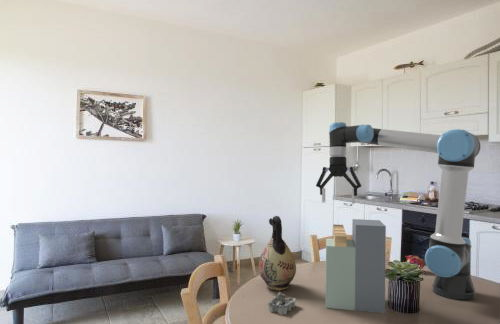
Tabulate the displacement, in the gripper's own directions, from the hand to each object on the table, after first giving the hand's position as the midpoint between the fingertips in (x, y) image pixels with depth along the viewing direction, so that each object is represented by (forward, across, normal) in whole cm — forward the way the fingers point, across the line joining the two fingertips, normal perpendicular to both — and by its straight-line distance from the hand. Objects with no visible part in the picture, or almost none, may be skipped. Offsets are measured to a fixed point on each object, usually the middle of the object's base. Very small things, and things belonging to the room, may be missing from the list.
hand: (338, 202), depth 162 cm
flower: (+34, -30, -28) cm, 54 cm away
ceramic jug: (+34, +19, +26) cm, 47 cm away
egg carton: (+35, +10, +45) cm, 58 cm away
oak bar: (+12, -6, +24) cm, 28 cm away
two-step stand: (+34, -12, +28) cm, 46 cm away
